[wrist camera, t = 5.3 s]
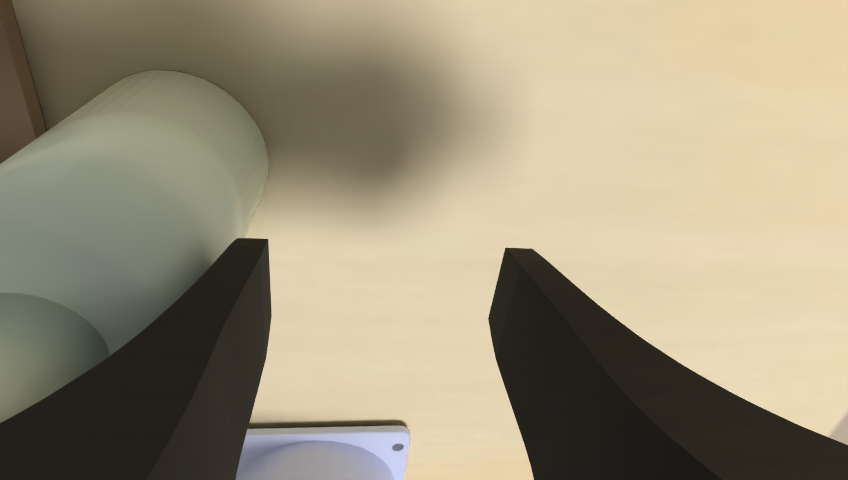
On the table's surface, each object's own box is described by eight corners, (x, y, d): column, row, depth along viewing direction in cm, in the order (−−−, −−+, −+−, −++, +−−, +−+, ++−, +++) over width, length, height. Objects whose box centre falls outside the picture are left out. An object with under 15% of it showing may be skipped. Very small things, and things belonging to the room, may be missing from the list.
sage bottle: (273, 231, 17) (139, 652, 8) (111, 225, 17) (-253, 668, 7) (262, 76, 15) (33, 421, 5) (68, 63, 14) (-603, 421, 4)
